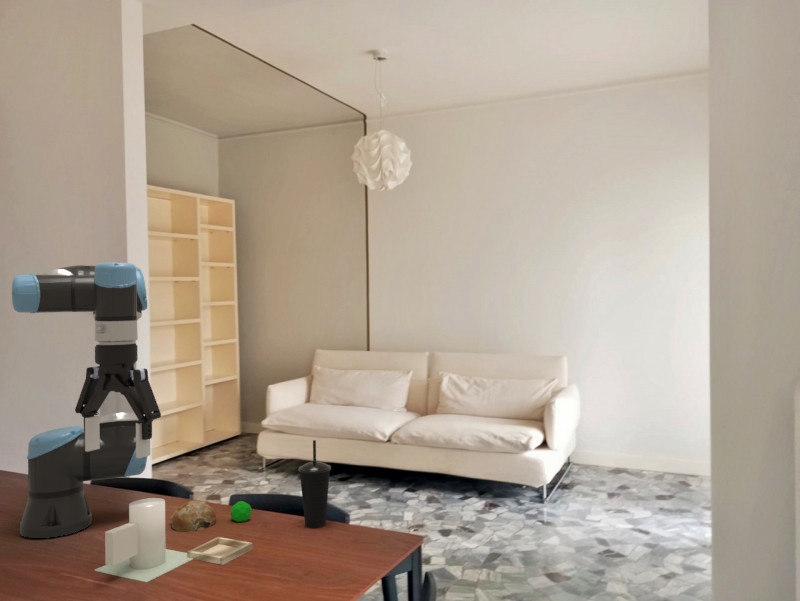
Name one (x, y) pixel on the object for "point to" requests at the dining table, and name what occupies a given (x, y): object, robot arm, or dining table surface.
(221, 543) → the holder
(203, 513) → the bread roll
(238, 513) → the polyhedron
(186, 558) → the plate
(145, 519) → the white cylinder with tab
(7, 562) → the dining table surface
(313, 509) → the drinking cup
